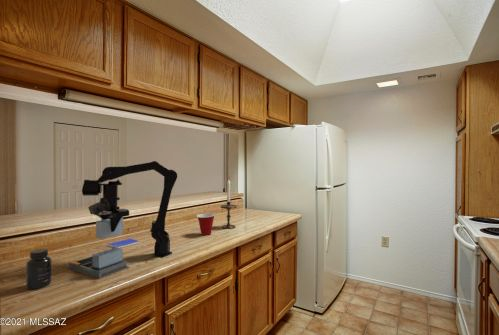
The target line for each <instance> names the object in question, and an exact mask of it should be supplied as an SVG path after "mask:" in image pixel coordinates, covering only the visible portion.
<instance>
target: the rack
mask: <svg viewBox="0 0 499 335" xmlns="http://www.w3.org/2000/svg"><path fill="white" fill-rule="evenodd" d="M127 262H128V261H127V260H125V261H124V249H123V248H122V247H121V248H117V247H116V248H113V247H112V248H110V249H106V250H103V251H99V252H97V253H92V255H91V256H89V257H86V258H82V259H78V260H75V261H68V267H67V269H68V270H71V271H74V272H77V273H79V274H83V275H87V276H89V277H93V278H95V279H98V280H100V279H102V278H105V277H108V276H110V275H113V274H117V273H119V272H122V271H124V270H126V269H129V268H130V266H128V264H127Z"/></svg>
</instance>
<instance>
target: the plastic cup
mask: <svg viewBox="0 0 499 335" xmlns="http://www.w3.org/2000/svg"><path fill="white" fill-rule="evenodd" d="M215 216H216V214H215V213H214V212H213V213H212V212H207V213H201V214H197V215H196V217H197V220H198V223H199V230H200V234H201V236H211V235H212V231H213V227H214V226H213V225H214V224H213V223H214V218H215Z"/></svg>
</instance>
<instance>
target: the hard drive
mask: <svg viewBox="0 0 499 335" xmlns="http://www.w3.org/2000/svg"><path fill="white" fill-rule="evenodd" d="M131 244H132V245H135V244H139V240H137V239H134V238H127V239H124V240H123V239H122V240H119V241H114V242H110V243H107V245H108V247H110V246H111V247H110V248H113V247H114V248H116V247H117V248H120V247H121V248H124V247H127V245H128V246H131Z"/></svg>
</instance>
